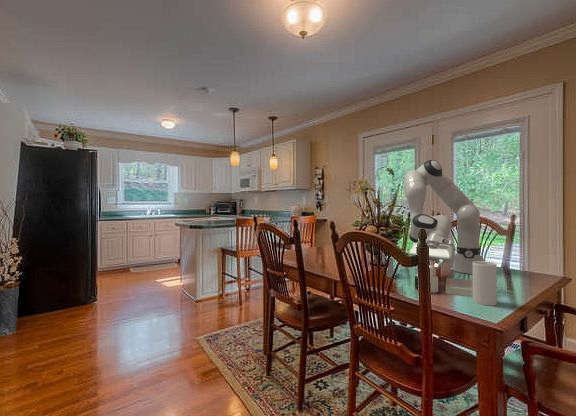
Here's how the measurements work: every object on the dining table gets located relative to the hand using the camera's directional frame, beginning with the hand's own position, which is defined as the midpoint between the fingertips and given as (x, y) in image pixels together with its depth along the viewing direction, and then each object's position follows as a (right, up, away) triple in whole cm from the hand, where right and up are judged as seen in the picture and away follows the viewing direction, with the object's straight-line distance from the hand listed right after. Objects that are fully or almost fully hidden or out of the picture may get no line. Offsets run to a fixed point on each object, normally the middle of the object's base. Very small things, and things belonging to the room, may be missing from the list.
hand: (425, 266), depth 140 cm
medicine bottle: (0, -11, -1) cm, 11 cm away
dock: (+16, -11, 0) cm, 19 cm away
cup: (+16, -11, -17) cm, 26 cm away
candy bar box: (-9, -11, +28) cm, 31 cm away
